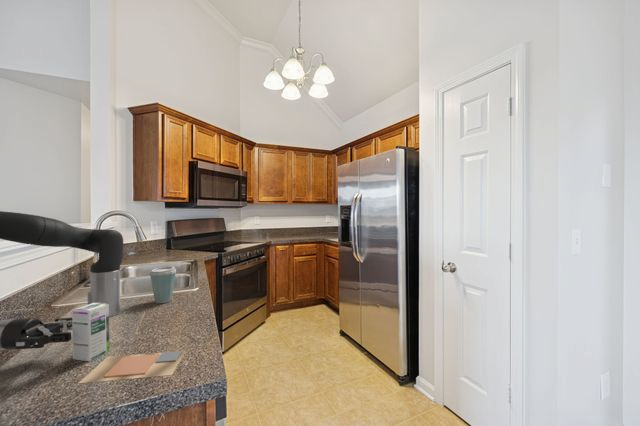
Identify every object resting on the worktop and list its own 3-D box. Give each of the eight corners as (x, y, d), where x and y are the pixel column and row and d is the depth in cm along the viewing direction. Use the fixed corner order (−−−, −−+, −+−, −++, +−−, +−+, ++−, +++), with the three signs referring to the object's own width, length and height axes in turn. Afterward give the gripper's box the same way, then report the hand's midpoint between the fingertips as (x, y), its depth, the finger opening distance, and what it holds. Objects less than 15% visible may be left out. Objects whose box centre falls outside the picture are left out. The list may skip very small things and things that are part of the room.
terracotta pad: (103, 377, 67) (103, 376, 67) (123, 358, 76) (123, 357, 76) (145, 373, 68) (145, 372, 68) (159, 355, 77) (159, 354, 77)
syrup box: (89, 365, 74) (89, 310, 74) (71, 362, 75) (71, 308, 75) (109, 354, 80) (110, 303, 80) (92, 352, 81) (93, 301, 81)
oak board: (77, 387, 64) (77, 383, 64) (107, 360, 76) (107, 356, 76) (171, 379, 68) (171, 374, 68) (186, 354, 80) (186, 350, 80)
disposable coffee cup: (161, 306, 120) (161, 271, 120) (143, 303, 124) (143, 269, 124) (181, 299, 130) (181, 266, 130) (164, 296, 134) (164, 265, 134)
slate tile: (155, 362, 73) (155, 361, 73) (162, 353, 78) (162, 352, 78) (176, 361, 74) (176, 360, 74) (181, 351, 79) (181, 350, 79)
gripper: (-16, 331, 67) (62, 326, 70) (34, 310, 81) (97, 307, 84) (-16, 362, 67) (62, 356, 70) (34, 336, 81) (97, 332, 84)
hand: (81, 329), depth 77 cm, fingers open, 8 cm apart
